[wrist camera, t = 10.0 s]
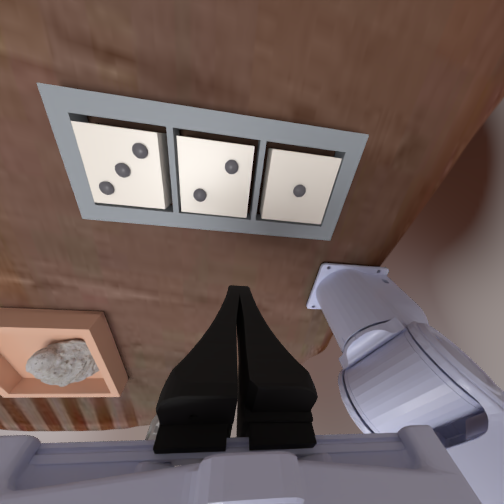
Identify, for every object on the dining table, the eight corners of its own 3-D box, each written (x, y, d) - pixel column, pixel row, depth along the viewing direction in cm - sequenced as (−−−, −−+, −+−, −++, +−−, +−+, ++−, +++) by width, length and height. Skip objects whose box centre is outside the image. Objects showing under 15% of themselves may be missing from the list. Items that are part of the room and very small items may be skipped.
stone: (71, 395, 32) (-6, 386, 26) (85, 364, 36) (19, 350, 29) (115, 379, 30) (42, 366, 24) (124, 349, 34) (63, 330, 27)
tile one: (329, 156, 18) (342, 158, 16) (312, 215, 21) (321, 225, 19) (268, 147, 18) (272, 149, 15) (259, 210, 21) (261, 219, 18)
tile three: (167, 133, 17) (156, 132, 14) (173, 201, 20) (164, 209, 17) (93, 123, 16) (68, 120, 14) (110, 195, 19) (93, 202, 17)
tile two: (252, 145, 17) (254, 146, 15) (245, 209, 20) (246, 218, 18) (184, 136, 17) (175, 135, 14) (187, 203, 20) (180, 212, 17)
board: (356, 135, 18) (369, 134, 16) (323, 232, 23) (330, 240, 21) (59, 88, 15) (36, 82, 13) (96, 211, 20) (82, 218, 18)
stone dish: (103, 311, 27) (88, 329, 25) (128, 378, 36) (120, 396, 34) (-45, 305, 25) (-77, 324, 23) (21, 377, 34) (3, 397, 32)
